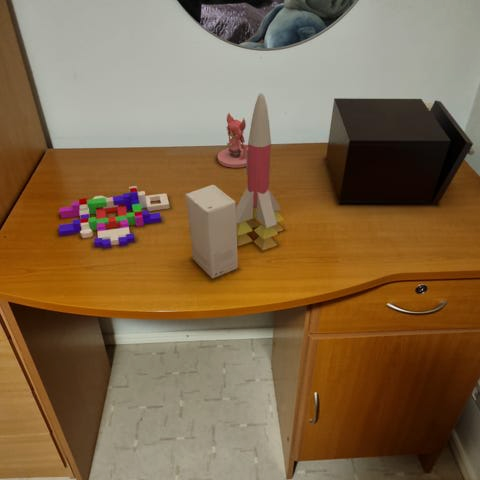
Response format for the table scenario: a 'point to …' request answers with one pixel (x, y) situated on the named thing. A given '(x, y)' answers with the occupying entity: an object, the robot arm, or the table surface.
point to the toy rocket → (258, 185)
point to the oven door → (450, 149)
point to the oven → (385, 151)
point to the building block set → (124, 219)
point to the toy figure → (234, 145)
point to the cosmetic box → (213, 230)
